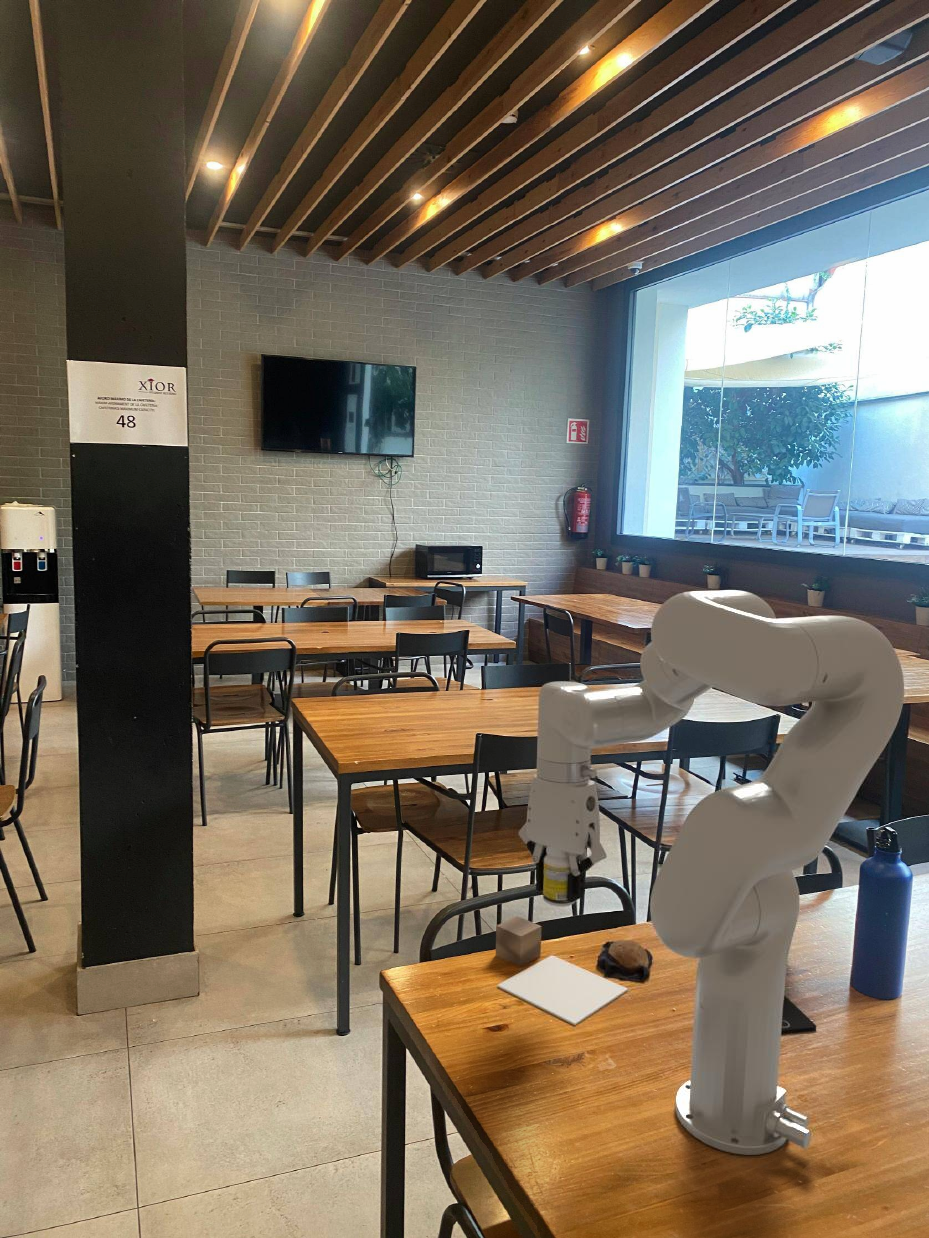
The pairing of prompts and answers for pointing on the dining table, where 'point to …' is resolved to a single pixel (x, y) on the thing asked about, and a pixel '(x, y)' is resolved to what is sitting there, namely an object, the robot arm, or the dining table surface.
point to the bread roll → (625, 961)
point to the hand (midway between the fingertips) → (559, 892)
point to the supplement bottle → (556, 877)
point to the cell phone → (795, 1019)
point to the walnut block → (518, 941)
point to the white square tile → (563, 989)
